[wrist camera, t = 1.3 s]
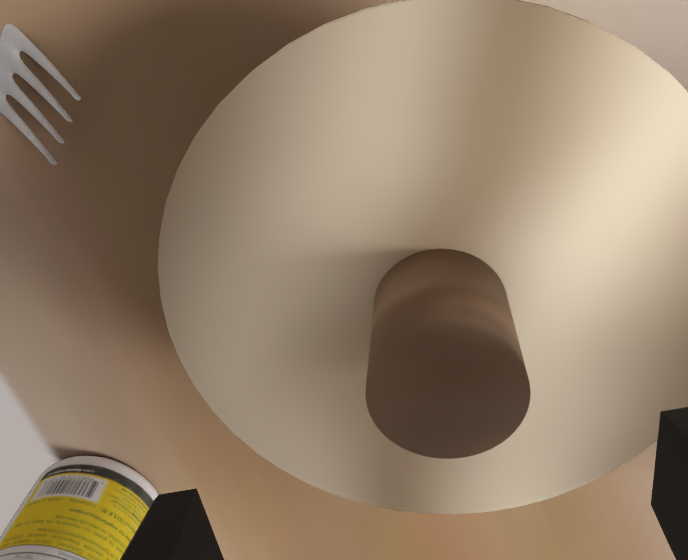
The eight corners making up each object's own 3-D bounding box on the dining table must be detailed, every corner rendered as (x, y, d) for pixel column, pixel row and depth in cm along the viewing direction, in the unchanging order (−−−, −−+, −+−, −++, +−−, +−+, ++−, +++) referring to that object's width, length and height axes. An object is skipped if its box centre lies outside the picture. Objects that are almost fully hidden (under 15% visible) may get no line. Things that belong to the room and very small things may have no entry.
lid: (822, -11, 12) (983, 13, 8) (668, 509, 18) (727, 642, 15) (121, -2, 13) (20, 23, 10) (201, 485, 19) (157, 603, 16)
